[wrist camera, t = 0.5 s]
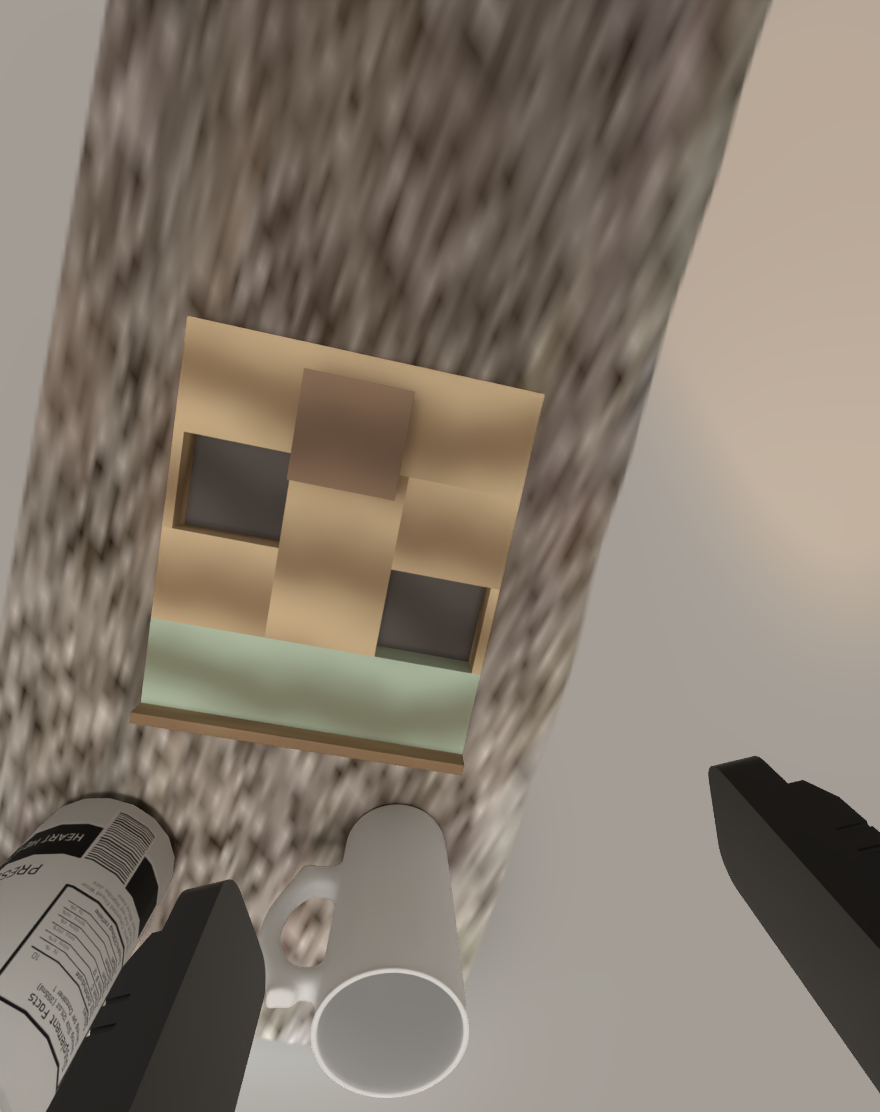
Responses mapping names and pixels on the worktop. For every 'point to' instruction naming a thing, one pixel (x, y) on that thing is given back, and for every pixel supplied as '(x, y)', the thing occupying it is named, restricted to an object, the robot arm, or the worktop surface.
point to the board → (329, 559)
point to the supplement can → (70, 935)
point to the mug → (379, 958)
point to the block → (350, 434)
